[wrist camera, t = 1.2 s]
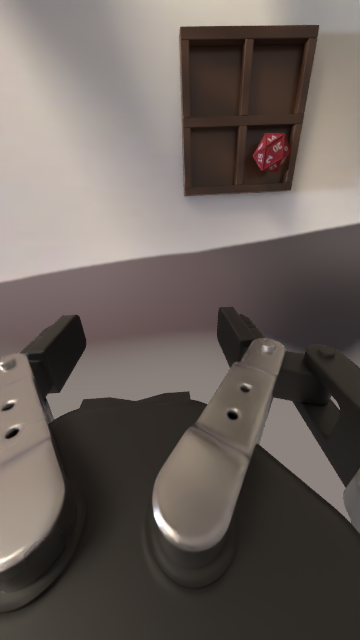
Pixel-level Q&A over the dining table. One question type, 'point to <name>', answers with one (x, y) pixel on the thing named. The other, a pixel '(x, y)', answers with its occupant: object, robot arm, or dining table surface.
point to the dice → (272, 152)
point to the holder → (241, 103)
